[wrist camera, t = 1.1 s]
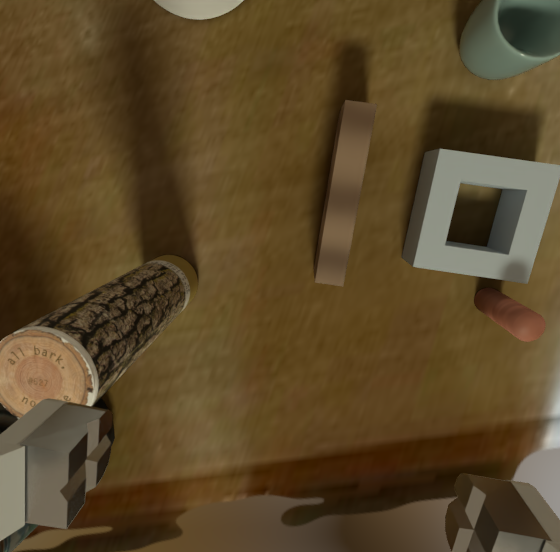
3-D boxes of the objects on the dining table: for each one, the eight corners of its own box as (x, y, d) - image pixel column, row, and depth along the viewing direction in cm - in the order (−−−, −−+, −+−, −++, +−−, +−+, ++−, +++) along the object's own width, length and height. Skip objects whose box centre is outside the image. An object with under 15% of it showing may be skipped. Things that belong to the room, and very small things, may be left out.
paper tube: (147, 249, 48) (-15, 321, 24) (202, 258, 48) (96, 338, 23) (144, 302, 49) (-10, 419, 25) (197, 310, 49) (93, 436, 25)
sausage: (477, 285, 46) (518, 310, 38) (503, 289, 46) (549, 315, 38) (471, 309, 47) (509, 338, 38) (496, 313, 47) (540, 343, 38)
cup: (478, -11, 39) (535, -74, 30) (542, 29, 40) (620, -20, 30) (434, 64, 41) (474, 29, 31) (496, 102, 42) (554, 78, 32)
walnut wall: (339, 110, 43) (345, 99, 37) (367, 114, 43) (377, 104, 37) (313, 269, 47) (314, 282, 41) (338, 273, 47) (343, 286, 41)
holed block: (424, 152, 43) (440, 148, 38) (533, 167, 43) (563, 165, 38) (401, 257, 46) (413, 266, 41) (503, 272, 46) (527, 283, 41)
